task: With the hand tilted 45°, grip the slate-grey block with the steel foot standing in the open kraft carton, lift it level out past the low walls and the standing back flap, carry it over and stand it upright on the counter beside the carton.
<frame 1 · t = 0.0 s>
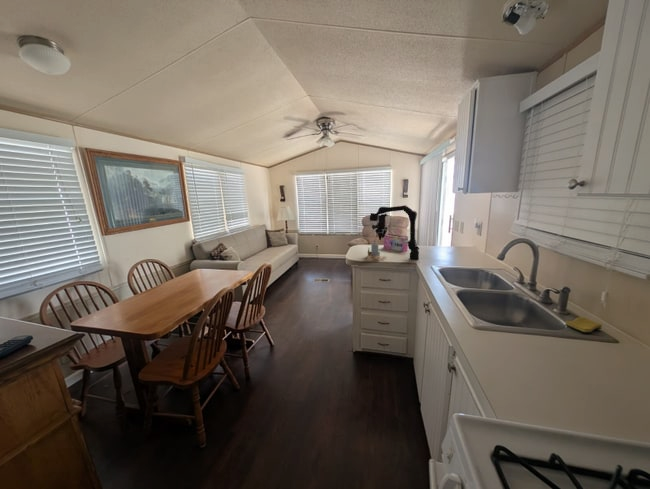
hand: (381, 239, 214), 15 cm above the worktop, tool pointing down, fingers open, 9 cm apart
slate block: (374, 258, 206), resting on kraft carton
gum box: (395, 249, 238), on the worktop
kraft carton: (374, 258, 206), on the worktop
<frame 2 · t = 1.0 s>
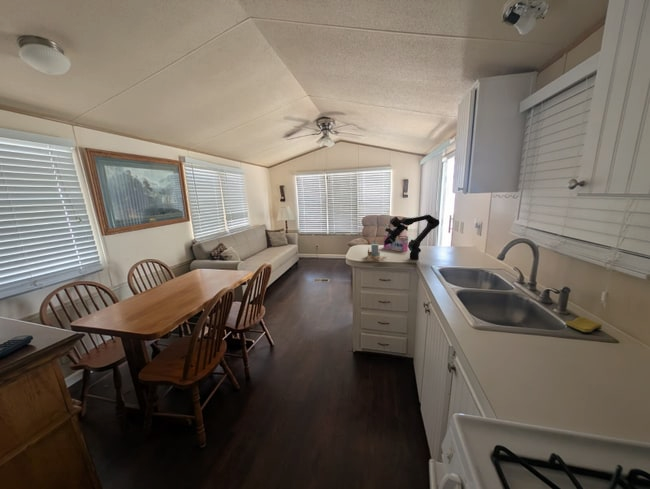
hand: (384, 243, 202), 13 cm above the worktop, tool tilted 45°, fingers open, 9 cm apart
nothing on the worktop moved.
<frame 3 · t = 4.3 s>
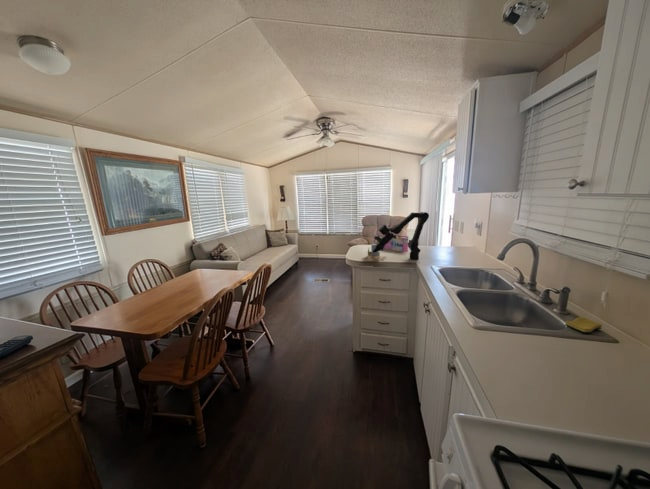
hand: (373, 251, 205), 7 cm above the worktop, tool tilted 45°, fingers closed on slate block, 5 cm apart
slate block: (374, 258, 206), resting on kraft carton, touching gripper
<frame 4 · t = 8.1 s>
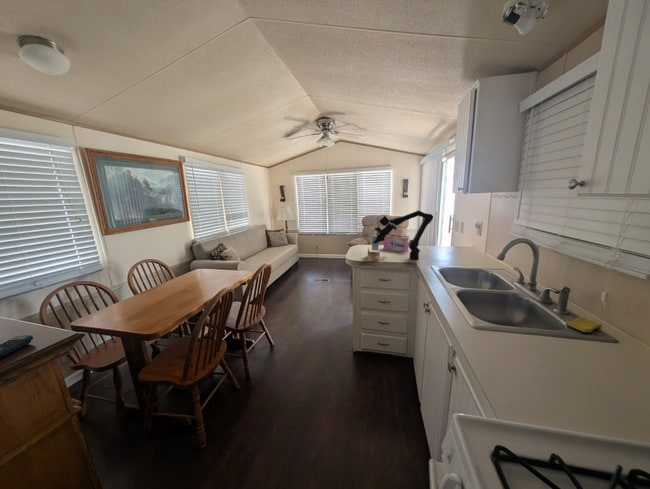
hand: (373, 242, 206), 13 cm above the worktop, tool tilted 45°, fingers closed on slate block, 5 cm apart
slate block: (375, 249, 207), point 7 cm above the worktop, touching gripper
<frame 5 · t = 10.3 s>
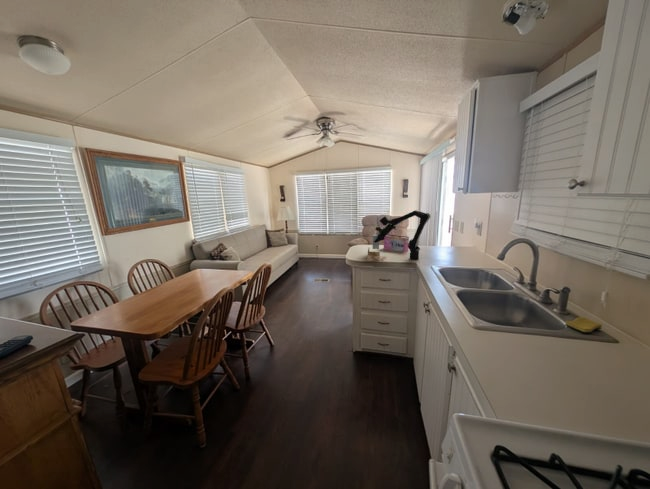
hand: (374, 241, 218), 12 cm above the worktop, tool tilted 45°, fingers closed on slate block, 5 cm apart
slate block: (375, 248, 219), point 6 cm above the worktop, touching gripper
when the fingers open (7 cm above the worktop, at t = 12.0 s): slate block drops 1 cm, on the worktop.
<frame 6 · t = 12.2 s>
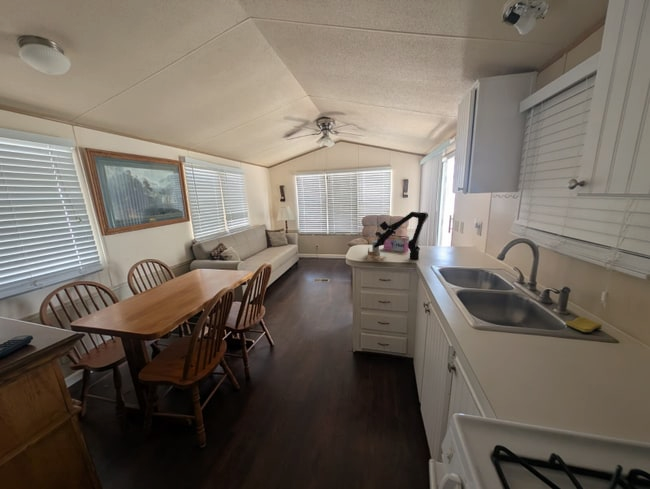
hand: (374, 246, 219), 8 cm above the worktop, tool tilted 45°, fingers open, 7 cm apart
slate block: (375, 254, 220), on the worktop
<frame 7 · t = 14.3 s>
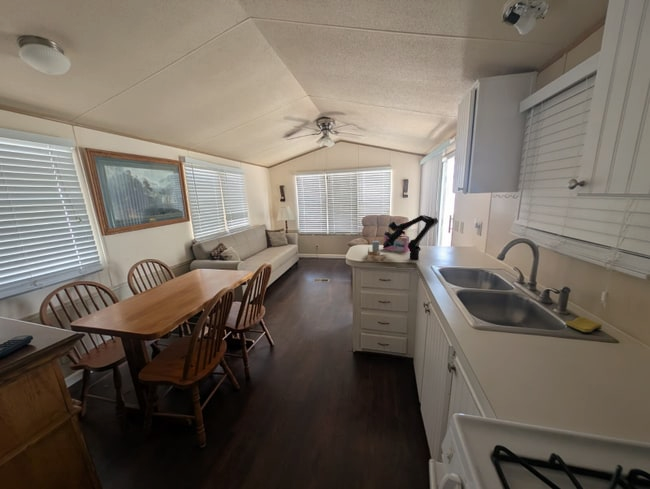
hand: (383, 246, 217), 7 cm above the worktop, tool tilted 45°, fingers open, 9 cm apart
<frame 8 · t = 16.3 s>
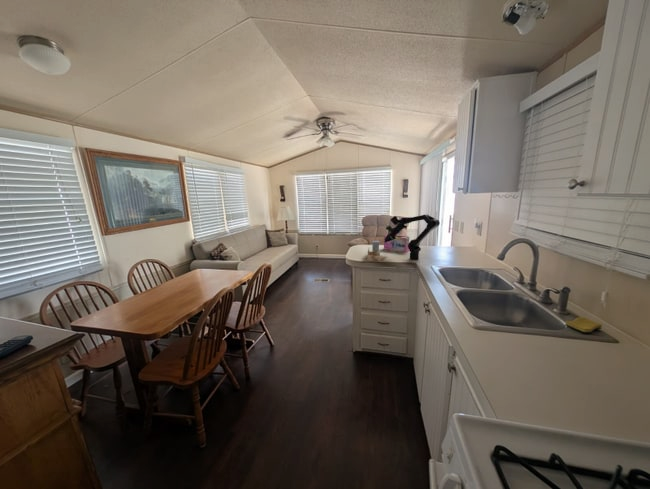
hand: (384, 241, 215), 13 cm above the worktop, tool tilted 45°, fingers open, 9 cm apart
at the end: slate block inside the target area (0.1 cm from its centre), on the worktop; slate block tilted 0°; the gripper is holding nothing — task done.
